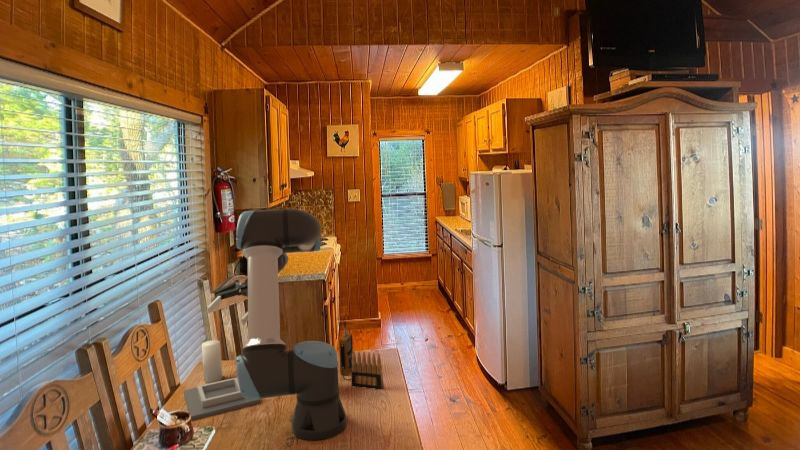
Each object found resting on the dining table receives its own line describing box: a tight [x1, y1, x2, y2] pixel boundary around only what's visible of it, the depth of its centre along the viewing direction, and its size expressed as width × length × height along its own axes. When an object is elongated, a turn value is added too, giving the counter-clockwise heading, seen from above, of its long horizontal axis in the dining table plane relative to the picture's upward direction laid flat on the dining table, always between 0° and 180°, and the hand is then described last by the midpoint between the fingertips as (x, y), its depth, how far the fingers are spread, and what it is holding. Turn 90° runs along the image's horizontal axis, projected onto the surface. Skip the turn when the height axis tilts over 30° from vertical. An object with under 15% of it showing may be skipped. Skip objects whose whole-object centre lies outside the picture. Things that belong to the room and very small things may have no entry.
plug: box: [201, 339, 223, 384], centre depth 165 cm, size 6×6×13 cm
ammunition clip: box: [351, 350, 384, 390], centre depth 155 cm, size 11×2×12 cm, turn 72°
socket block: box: [183, 376, 261, 421], centre depth 150 cm, size 20×20×3 cm
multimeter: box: [338, 314, 354, 381], centre depth 167 cm, size 15×10×20 cm
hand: (225, 316), depth 162 cm, fingers open, 13 cm apart
